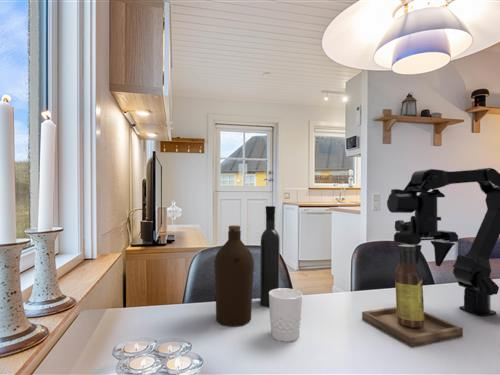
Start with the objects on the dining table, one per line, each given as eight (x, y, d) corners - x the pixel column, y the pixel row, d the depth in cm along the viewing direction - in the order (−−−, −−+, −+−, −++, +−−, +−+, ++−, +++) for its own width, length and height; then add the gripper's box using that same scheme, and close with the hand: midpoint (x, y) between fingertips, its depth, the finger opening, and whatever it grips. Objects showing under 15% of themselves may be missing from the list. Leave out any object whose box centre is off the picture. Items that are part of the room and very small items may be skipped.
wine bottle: (259, 306, 91) (260, 206, 92) (261, 299, 97) (262, 205, 98) (278, 307, 90) (279, 206, 91) (279, 300, 96) (279, 206, 97)
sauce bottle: (429, 329, 74) (427, 247, 75) (403, 329, 74) (401, 247, 75) (416, 318, 80) (414, 243, 81) (392, 318, 81) (390, 243, 81)
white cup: (301, 345, 68) (301, 299, 68) (266, 341, 69) (266, 297, 69) (302, 329, 75) (302, 289, 76) (270, 326, 77) (271, 287, 77)
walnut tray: (407, 312, 87) (407, 305, 87) (462, 336, 72) (462, 328, 72) (362, 319, 82) (362, 311, 82) (411, 347, 67) (411, 337, 67)
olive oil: (261, 320, 81) (262, 226, 81) (229, 331, 74) (230, 229, 75) (237, 308, 89) (237, 223, 90) (206, 318, 82) (207, 225, 83)
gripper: (425, 211, 99) (426, 259, 98) (379, 211, 92) (379, 263, 92) (459, 213, 88) (459, 267, 88) (410, 213, 82) (410, 272, 81)
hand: (426, 267), depth 87 cm, fingers open, 9 cm apart
